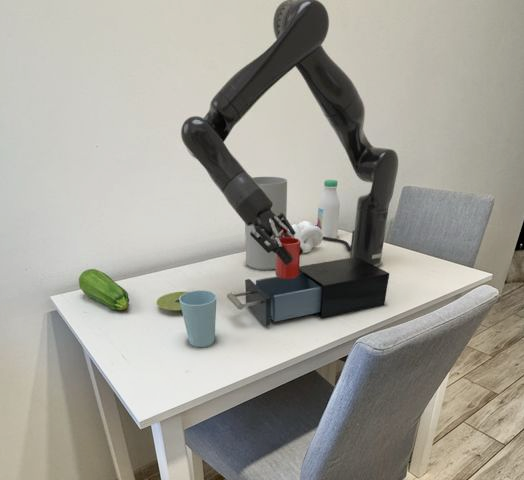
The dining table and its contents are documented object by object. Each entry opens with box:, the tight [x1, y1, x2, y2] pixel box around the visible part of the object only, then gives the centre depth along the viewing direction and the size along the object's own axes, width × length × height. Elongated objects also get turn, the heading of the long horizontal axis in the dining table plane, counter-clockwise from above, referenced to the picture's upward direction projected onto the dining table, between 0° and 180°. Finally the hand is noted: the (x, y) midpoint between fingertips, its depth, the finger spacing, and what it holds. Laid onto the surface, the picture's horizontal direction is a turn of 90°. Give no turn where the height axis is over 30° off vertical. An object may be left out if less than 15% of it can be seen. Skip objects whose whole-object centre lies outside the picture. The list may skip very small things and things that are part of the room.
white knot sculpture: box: [291, 220, 323, 254], centre depth 143 cm, size 11×12×9 cm
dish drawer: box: [226, 273, 322, 327], centre depth 101 cm, size 23×12×7 cm, turn 114°
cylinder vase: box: [244, 176, 288, 271], centre depth 128 cm, size 12×12×25 cm
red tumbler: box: [275, 237, 301, 279], centre depth 97 cm, size 5×5×8 cm
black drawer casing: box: [299, 257, 390, 320], centre depth 107 cm, size 19×14×9 cm
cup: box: [179, 289, 218, 348], centre depth 90 cm, size 8×8×10 cm
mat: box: [156, 291, 188, 311], centre depth 107 cm, size 11×11×2 cm
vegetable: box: [78, 268, 130, 311], centre depth 108 cm, size 7×7×20 cm
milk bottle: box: [316, 179, 341, 239], centre depth 154 cm, size 8×8×20 cm
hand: (295, 258), depth 96 cm, fingers closed on red tumbler, 5 cm apart
